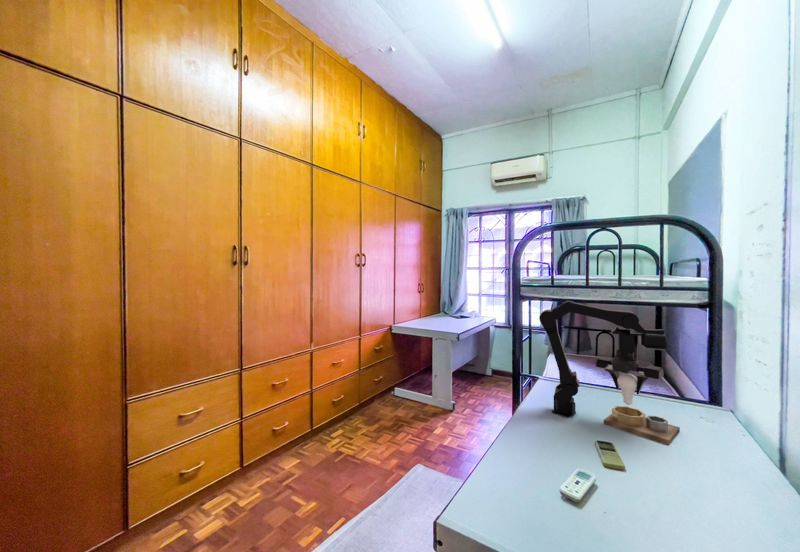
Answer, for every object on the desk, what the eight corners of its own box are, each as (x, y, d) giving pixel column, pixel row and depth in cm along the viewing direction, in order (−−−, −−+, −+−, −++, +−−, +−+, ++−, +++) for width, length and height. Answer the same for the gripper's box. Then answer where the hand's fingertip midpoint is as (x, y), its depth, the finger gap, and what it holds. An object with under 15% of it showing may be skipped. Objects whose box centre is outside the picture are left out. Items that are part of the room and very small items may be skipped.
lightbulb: (636, 402, 114) (636, 371, 114) (640, 409, 108) (640, 376, 108) (615, 400, 117) (615, 369, 116) (619, 406, 111) (619, 374, 111)
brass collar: (609, 419, 113) (609, 410, 113) (618, 412, 119) (618, 404, 119) (639, 428, 106) (639, 419, 106) (648, 420, 112) (647, 412, 112)
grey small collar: (644, 427, 107) (644, 418, 107) (649, 423, 110) (649, 414, 110) (664, 433, 102) (664, 424, 102) (669, 428, 106) (669, 419, 106)
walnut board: (603, 424, 113) (603, 419, 113) (617, 413, 121) (617, 409, 121) (668, 445, 99) (668, 440, 99) (679, 431, 107) (679, 427, 107)
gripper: (588, 345, 115) (589, 389, 115) (653, 356, 100) (653, 406, 100) (601, 341, 122) (601, 382, 122) (663, 350, 107) (663, 397, 107)
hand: (627, 391), depth 112 cm, fingers closed on lightbulb, 6 cm apart
